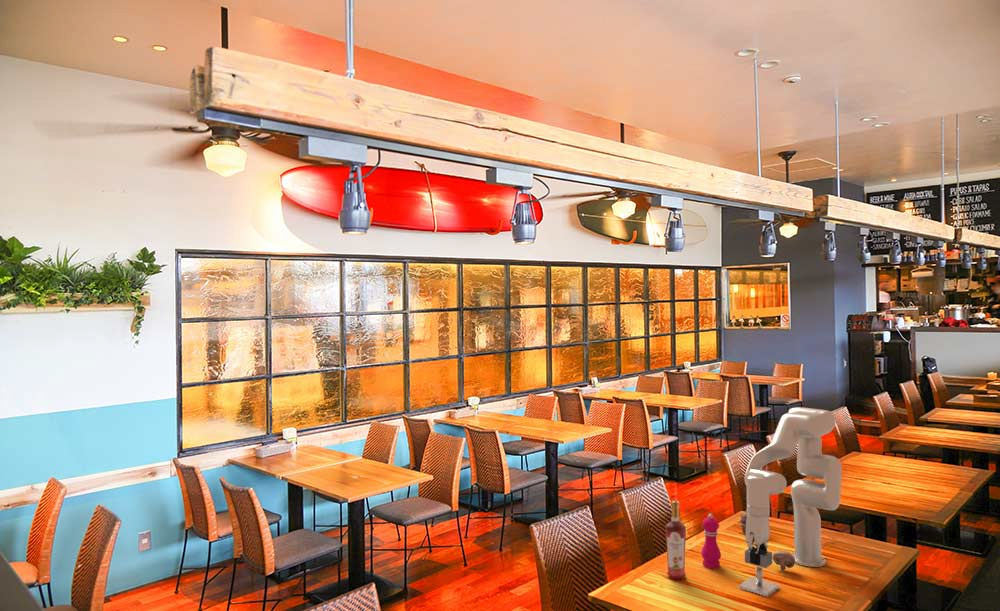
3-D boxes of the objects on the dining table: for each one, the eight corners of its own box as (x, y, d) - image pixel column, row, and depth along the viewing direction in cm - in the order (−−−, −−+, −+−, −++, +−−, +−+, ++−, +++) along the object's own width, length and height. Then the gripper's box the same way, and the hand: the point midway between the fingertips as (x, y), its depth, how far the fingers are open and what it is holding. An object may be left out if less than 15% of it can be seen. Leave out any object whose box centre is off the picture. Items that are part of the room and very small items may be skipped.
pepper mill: (722, 569, 244) (721, 517, 244) (702, 568, 245) (701, 516, 245) (719, 562, 251) (718, 511, 251) (700, 561, 252) (699, 510, 252)
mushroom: (769, 569, 244) (769, 548, 244) (779, 565, 247) (778, 545, 247) (788, 576, 237) (787, 554, 237) (797, 572, 241) (797, 551, 241)
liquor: (687, 574, 240) (685, 499, 240) (686, 582, 233) (684, 505, 233) (666, 572, 242) (665, 498, 243) (665, 580, 235) (664, 503, 236)
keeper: (751, 580, 234) (751, 560, 235) (779, 588, 227) (779, 567, 227) (739, 588, 228) (739, 568, 228) (767, 597, 220) (767, 576, 220)
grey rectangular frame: (744, 562, 228) (744, 550, 228) (751, 558, 232) (751, 547, 232) (765, 568, 223) (765, 556, 223) (772, 563, 227) (772, 552, 227)
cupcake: (743, 537, 278) (743, 514, 278) (738, 529, 288) (738, 507, 288) (766, 538, 277) (766, 514, 277) (761, 530, 286) (760, 508, 286)
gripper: (758, 503, 236) (758, 552, 236) (736, 513, 224) (737, 565, 224) (778, 507, 231) (779, 557, 231) (758, 518, 219) (758, 571, 219)
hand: (758, 561), depth 227 cm, fingers closed on grey rectangular frame, 5 cm apart
